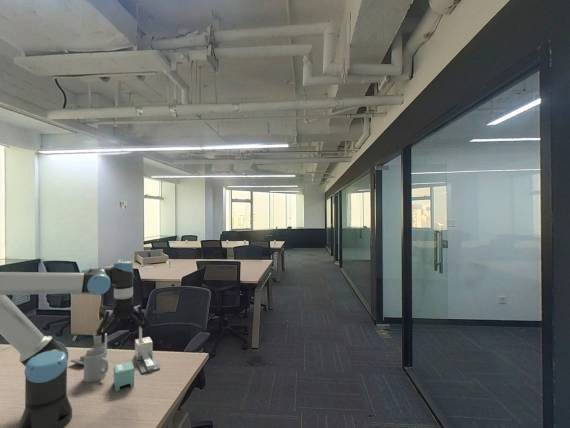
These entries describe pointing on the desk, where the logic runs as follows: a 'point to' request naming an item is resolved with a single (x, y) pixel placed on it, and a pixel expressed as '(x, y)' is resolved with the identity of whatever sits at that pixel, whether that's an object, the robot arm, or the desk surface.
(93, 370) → the mug
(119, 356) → the desk surface
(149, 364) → the light grey angular piece
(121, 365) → the block
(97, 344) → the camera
